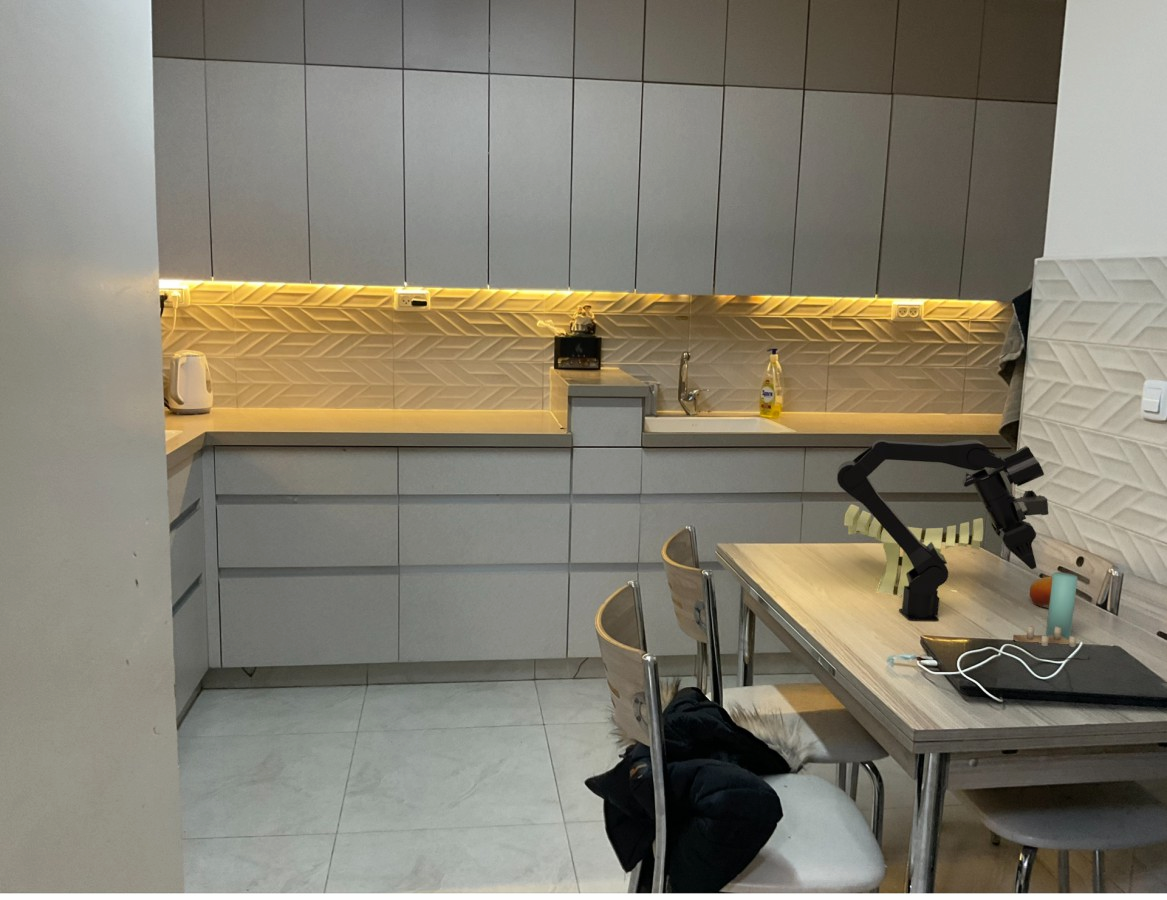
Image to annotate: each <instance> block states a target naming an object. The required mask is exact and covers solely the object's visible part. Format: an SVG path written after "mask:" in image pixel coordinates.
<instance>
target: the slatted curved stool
mask: <svg viewBox="0 0 1167 900" xmlns="http://www.w3.org/2000/svg"><path fill="white" fill-rule="evenodd" d="M871 518H872V514H871V512H869V511H865V510H862V511H861V513H860V507H859V506H857V505H856V504H850V505H849V506H848V508H847V510H846V512H845V514H844V523H843V525H844V526H846V527H847V528H848V530H847V532H848V533H847V535H849V536H850V535H856V534H857V533H858V532H859V535H864V536H868V537H872V538H873V539H876V540H877V541H879V542H880V543H883V544H882V547H883V549H884V553H885V557H886V568H885V571H884V573H883V575H882V576H881V578H880V579H881V581H880V580H879V582H880V584H879V583H878V585H879V587H878V586H877V589H878V590H877V589H876V592H882V593H881V594H883V593H889V594H888V595H891V594H893V593H895V594H893V595H897V596H898V595H903V594H904V586H909V583H908V579H907V575H906V573H907V572H909V571H910V570H911V569H913V568H914V566H913V565H912V563H911V561H910V559H909V557H908V556H907V554H906V553H905V552H904V550H903V549H902V556H900V553H901V547H900V546H899V545H898V543H897V542H896V541H895V540H894V539H893V538H892V537H891V535H890V534H889V533H888V532H887V531H886V530H885V529H884V527H883V526H882V525H881V524H880V523H879V522H878V520H877V519H876V518H875V517H874V516H873V519H872V520H871ZM907 527H908V529H909V530H910V531H911V532H912V533H913V534H914V535H915V537H916V538H917V539H918V540H919V541H920V542H922V540H923V544H925V545H926V546H928V545H929V543H930V542H932V543H933V545H934V547H935V548H936V550H937V551H938V552H939V553H941V552H942V551H941V550H942V545H943V544H942V542H944V543H945V548H944V549H945V550H947V549H949V548H954V547H955V545H956V544H958V547H968V545H969V546H970V548H972V549H975V550H978V551H980V549H981V548H980V547H981V542H983V537H984V520H983V518H982V517H980V518H975V519H973V521H972V528H971V529H972V530H971V531H972V532H971V534H970V521H966V522H962V523H959V533H957V531H956V530H957V529H956V528H957V525H956V524H955V525H949V526H947V527H946V532H943V530H944V527H934V528H933V527H931V528H929V527H928V528H925V529H923V527H921V528H920V527H912V526H907ZM941 554H942V553H941ZM899 566H900V567H901V569H900V570H901V571H900V575H899V576H900V577H899V581H898V572H899ZM897 581H898V584H897ZM896 585H898V586H896Z"/></svg>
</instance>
